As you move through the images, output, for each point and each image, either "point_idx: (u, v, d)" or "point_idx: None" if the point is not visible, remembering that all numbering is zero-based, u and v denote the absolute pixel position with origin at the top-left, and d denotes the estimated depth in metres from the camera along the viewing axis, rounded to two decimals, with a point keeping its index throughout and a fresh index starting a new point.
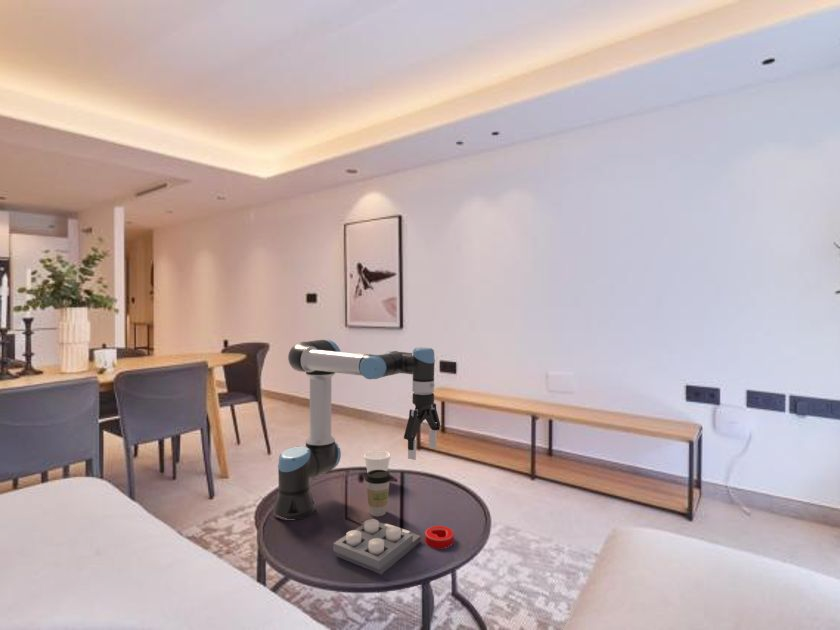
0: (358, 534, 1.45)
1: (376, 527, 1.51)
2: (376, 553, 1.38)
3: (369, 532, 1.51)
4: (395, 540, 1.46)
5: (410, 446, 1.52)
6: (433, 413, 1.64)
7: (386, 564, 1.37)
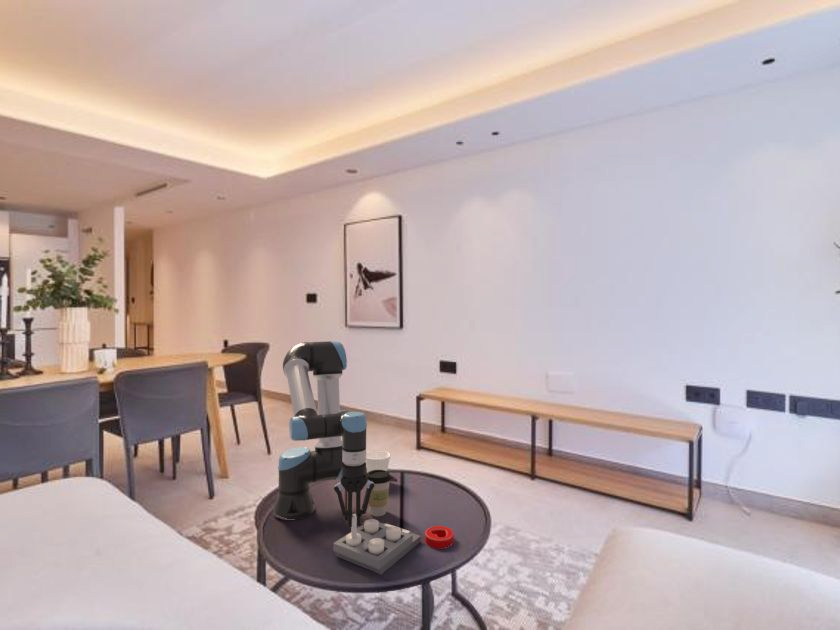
0: (358, 536, 1.45)
1: (376, 527, 1.51)
2: (376, 553, 1.38)
3: (369, 532, 1.51)
4: (395, 540, 1.46)
5: (348, 522, 1.44)
6: (366, 493, 1.45)
7: (386, 564, 1.37)
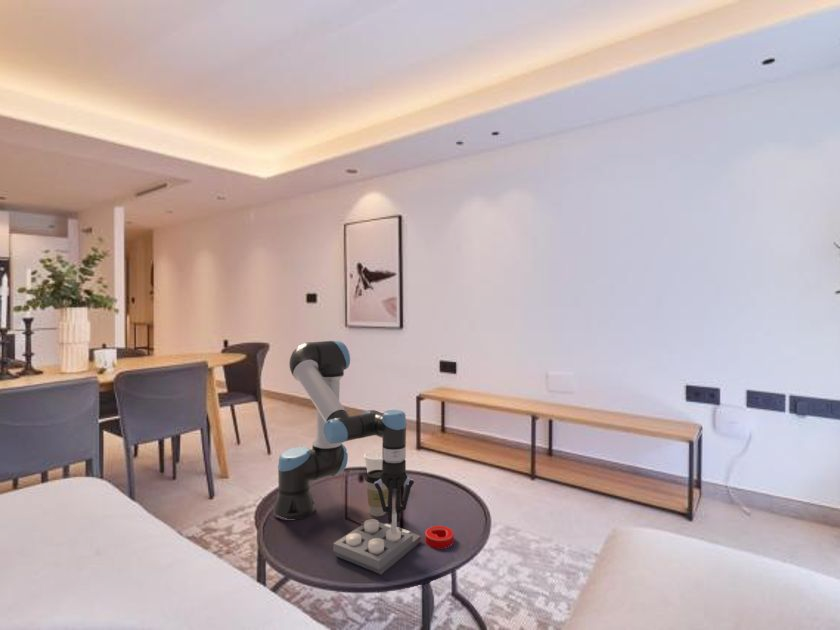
0: (358, 537, 1.45)
1: (376, 527, 1.51)
2: (376, 553, 1.38)
3: (369, 532, 1.51)
4: (395, 542, 1.46)
5: (388, 518, 1.47)
6: (405, 489, 1.48)
7: (386, 564, 1.37)
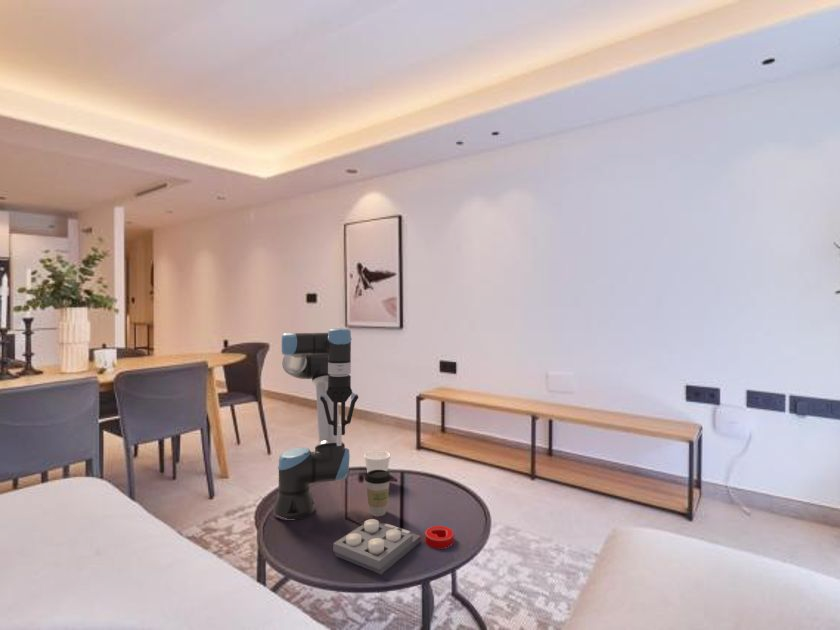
0: (358, 537, 1.45)
1: (376, 527, 1.51)
2: (376, 553, 1.38)
3: (369, 532, 1.51)
4: None
5: None
6: (350, 404, 1.54)
7: (386, 564, 1.37)
